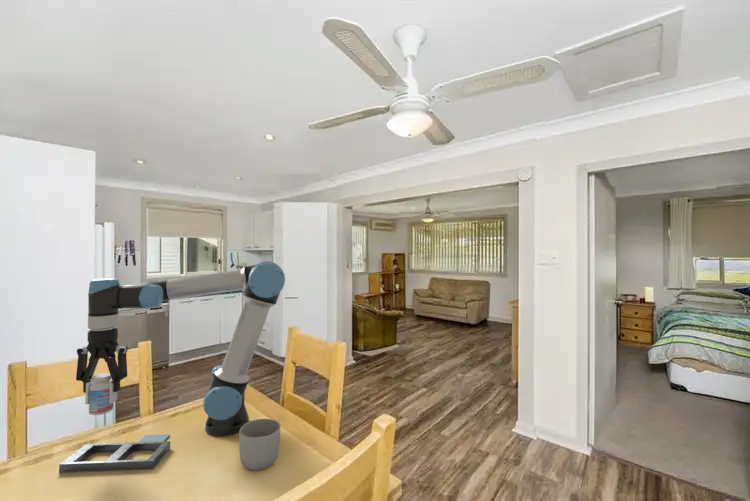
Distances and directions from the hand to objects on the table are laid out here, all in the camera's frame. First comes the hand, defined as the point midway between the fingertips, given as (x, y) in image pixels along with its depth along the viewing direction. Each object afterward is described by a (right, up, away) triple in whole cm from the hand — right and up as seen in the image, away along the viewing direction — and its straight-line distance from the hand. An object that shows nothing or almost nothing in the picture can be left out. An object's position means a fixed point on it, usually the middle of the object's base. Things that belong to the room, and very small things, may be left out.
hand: (101, 402), depth 109 cm
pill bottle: (0, -3, 0) cm, 3 cm away
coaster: (+9, -19, +11) cm, 23 cm away
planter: (+49, -20, +1) cm, 53 cm away
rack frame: (+5, -18, 0) cm, 19 cm away
